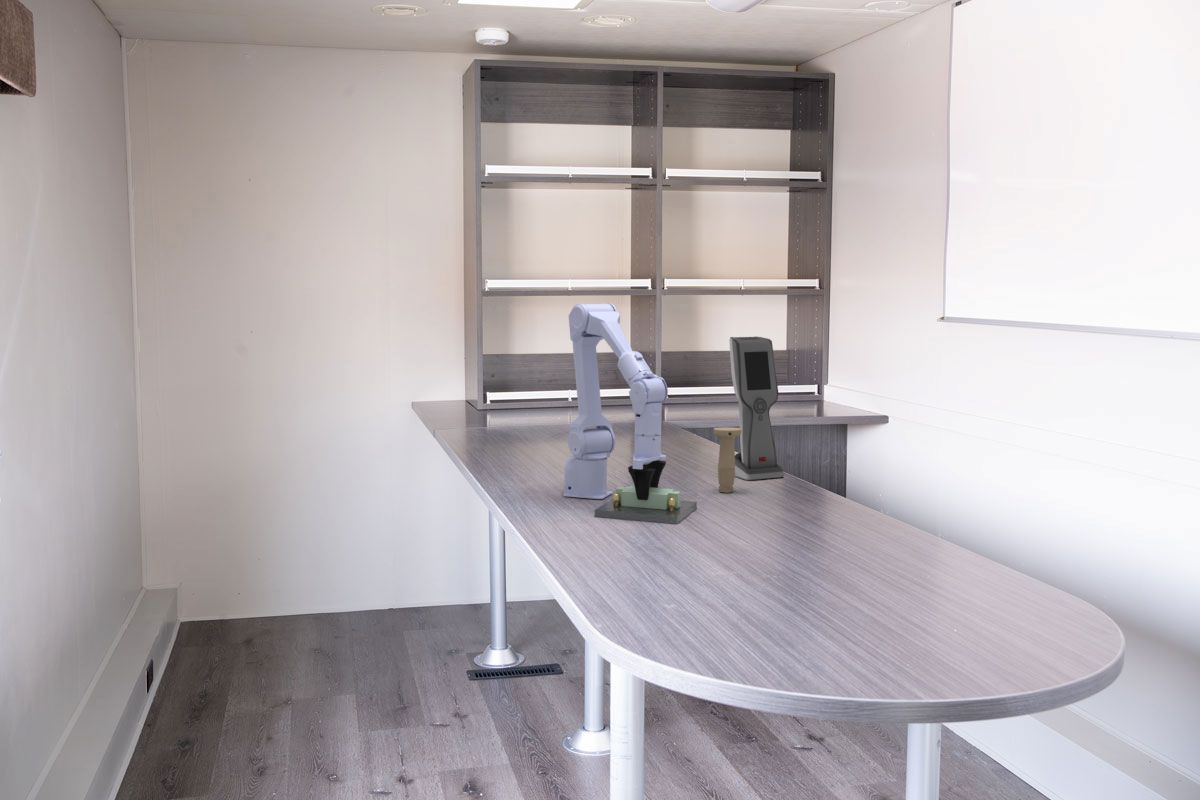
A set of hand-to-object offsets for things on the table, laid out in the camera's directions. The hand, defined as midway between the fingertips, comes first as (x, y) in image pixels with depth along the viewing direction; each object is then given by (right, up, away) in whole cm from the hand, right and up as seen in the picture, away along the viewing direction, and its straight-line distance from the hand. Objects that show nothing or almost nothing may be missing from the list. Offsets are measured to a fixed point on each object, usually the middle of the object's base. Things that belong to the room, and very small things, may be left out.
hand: (646, 496), depth 235 cm
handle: (+20, -1, +23) cm, 30 cm away
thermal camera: (+29, +1, +44) cm, 53 cm away
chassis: (0, -3, 0) cm, 3 cm away
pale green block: (0, -2, 0) cm, 2 cm away
